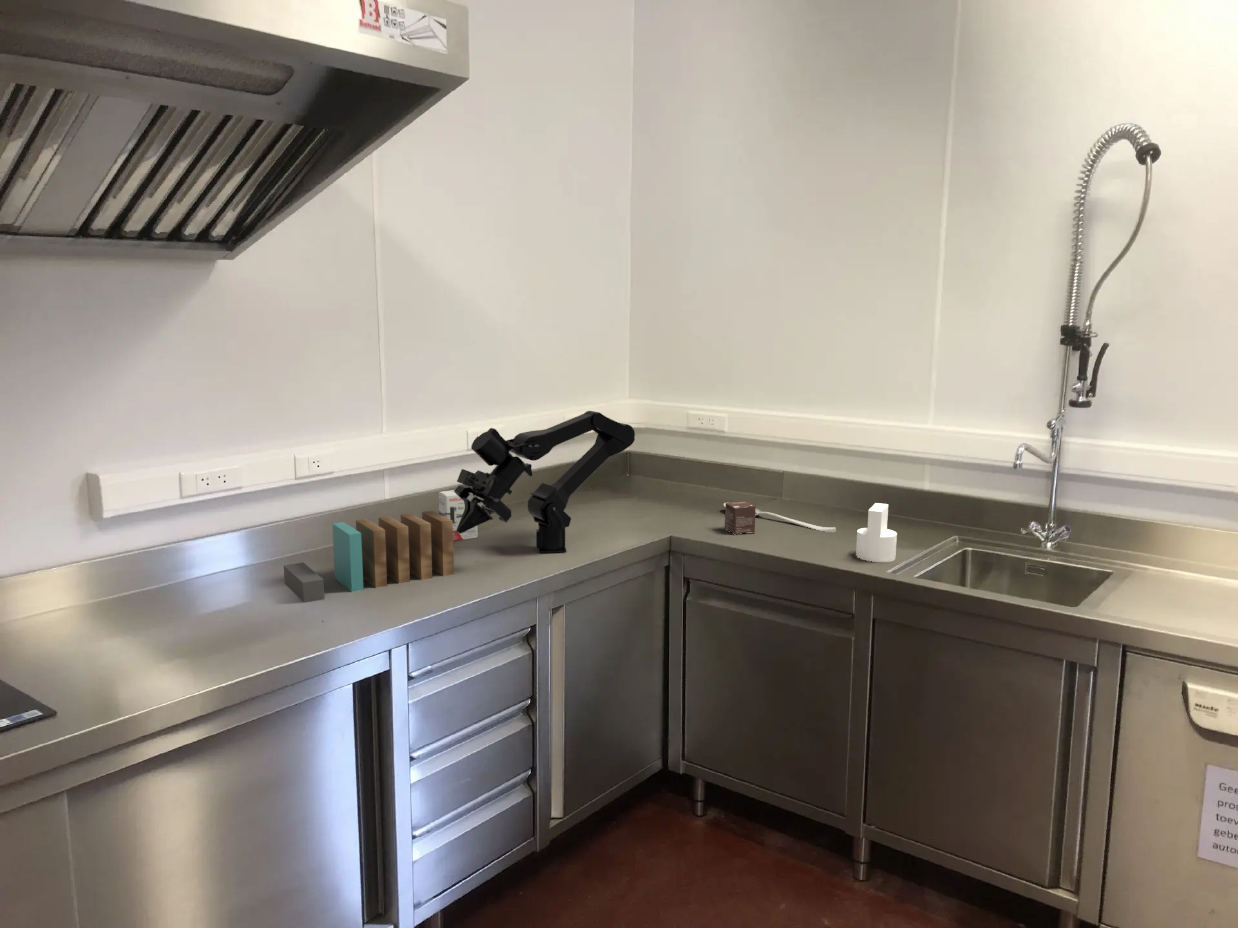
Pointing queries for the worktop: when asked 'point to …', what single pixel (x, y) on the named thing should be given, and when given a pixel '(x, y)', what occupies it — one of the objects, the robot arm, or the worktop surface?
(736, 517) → the box
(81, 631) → the worktop surface
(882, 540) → the cylinder with rectangular tab
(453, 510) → the ink box
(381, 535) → the domino
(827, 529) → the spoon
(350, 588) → the domino
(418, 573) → the domino
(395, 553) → the domino
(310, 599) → the block
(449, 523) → the domino
